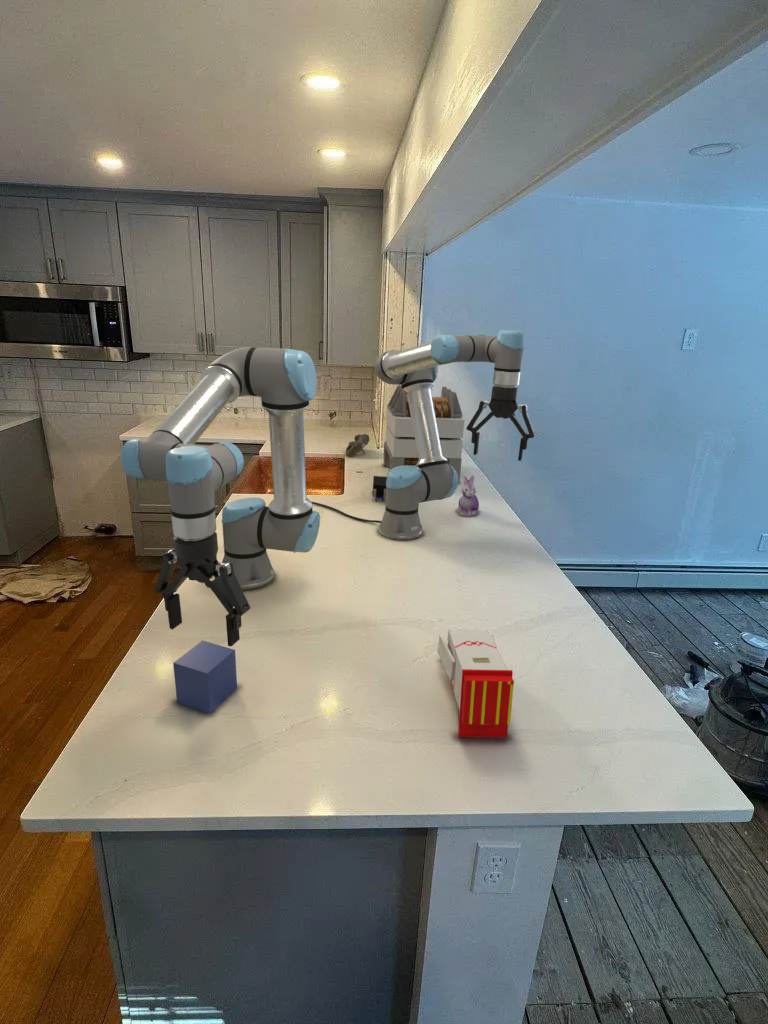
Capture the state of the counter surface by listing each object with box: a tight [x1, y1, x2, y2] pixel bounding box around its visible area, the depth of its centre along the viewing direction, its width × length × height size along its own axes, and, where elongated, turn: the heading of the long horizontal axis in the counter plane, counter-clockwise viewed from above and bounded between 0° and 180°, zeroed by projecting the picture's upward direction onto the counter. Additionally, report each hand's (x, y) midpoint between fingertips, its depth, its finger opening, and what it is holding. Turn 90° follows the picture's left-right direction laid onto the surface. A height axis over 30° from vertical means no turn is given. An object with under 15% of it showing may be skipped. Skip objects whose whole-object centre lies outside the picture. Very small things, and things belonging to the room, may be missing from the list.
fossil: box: [345, 433, 370, 458], centre depth 306 cm, size 22×10×15 cm
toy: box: [437, 628, 515, 738], centre depth 117 cm, size 12×13×30 cm
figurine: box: [457, 474, 480, 517], centre depth 221 cm, size 9×10×15 cm
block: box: [172, 640, 238, 714], centre depth 112 cm, size 9×8×9 cm
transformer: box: [383, 384, 465, 484], centre depth 268 cm, size 34×33×41 cm
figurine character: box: [371, 475, 387, 502], centre depth 236 cm, size 7×8×15 cm
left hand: (204, 634), depth 110 cm, fingers open, 13 cm apart
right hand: (497, 456), depth 172 cm, fingers open, 13 cm apart
